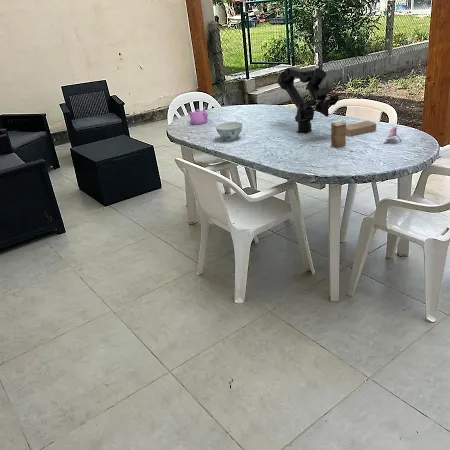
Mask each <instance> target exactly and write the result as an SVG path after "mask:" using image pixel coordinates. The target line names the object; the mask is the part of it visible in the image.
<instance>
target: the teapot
mask: <svg viewBox="0 0 450 450" xmlns="http://www.w3.org/2000/svg"><path fill="white" fill-rule="evenodd" d="M188 116H189V117H190V120H189V121H190V124H191V125H193V126H195V125H196V126H201V125H204V124H207V122H208V121H209V120H208V116H209V113H208V112H206V106H204V107H203V109H202V110H200V109H199V108H198V109H195V110H194V111H188Z"/></svg>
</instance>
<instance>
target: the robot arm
mask: <svg viewBox="0 0 450 450" xmlns="http://www.w3.org/2000/svg"><path fill="white" fill-rule="evenodd" d="M326 76H327V73H326V71H324V70H323V69H321V68H320V67H316V68H315V69H308V70H305V69H300V68H298V67H297V68H296V67H295V66H291V67H287V68H285V69H284V71H283V72H282V73H281V74H280V75H279V76H278V78H277V84H278V86H279V87H280V88H281V89H282V90H284V91H286V93H287V94H288V95H289V97H290V99H291V100H292V102H293V104H294V106H295V107H296V116H294V120H295V122H297V131H296V133H299V134H308V133H309V132H311V131H313V129H312V123H311V121H313V120H314V118H315V117H314V116H315V111H317V112H319V113H320V114H322V115H323V116H325V117H329V115H330V114H329V106H330V107H331V106H335V105H336V104H337V102H338V101H339V100H340V96H339V95H338V94H332V95H331V92H333V87H332V86H331V85H327V86H325V87H322V88H321V87H320V85H322V83H323V82H324V81H325V79H326V78H327V77H326ZM295 78H296V79H299V81H300V82H301V83H303V84H304V83H305V84H306V86H305V91H308V92H309V94H310V99H307V100H305V101H304V99H303V98H302V96H301V95H300V94H301V93H299V92H298V90H297V88H296V87H295V84H294V83H295ZM328 95H330V96H329V98H328ZM313 107H314V109H313Z"/></svg>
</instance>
